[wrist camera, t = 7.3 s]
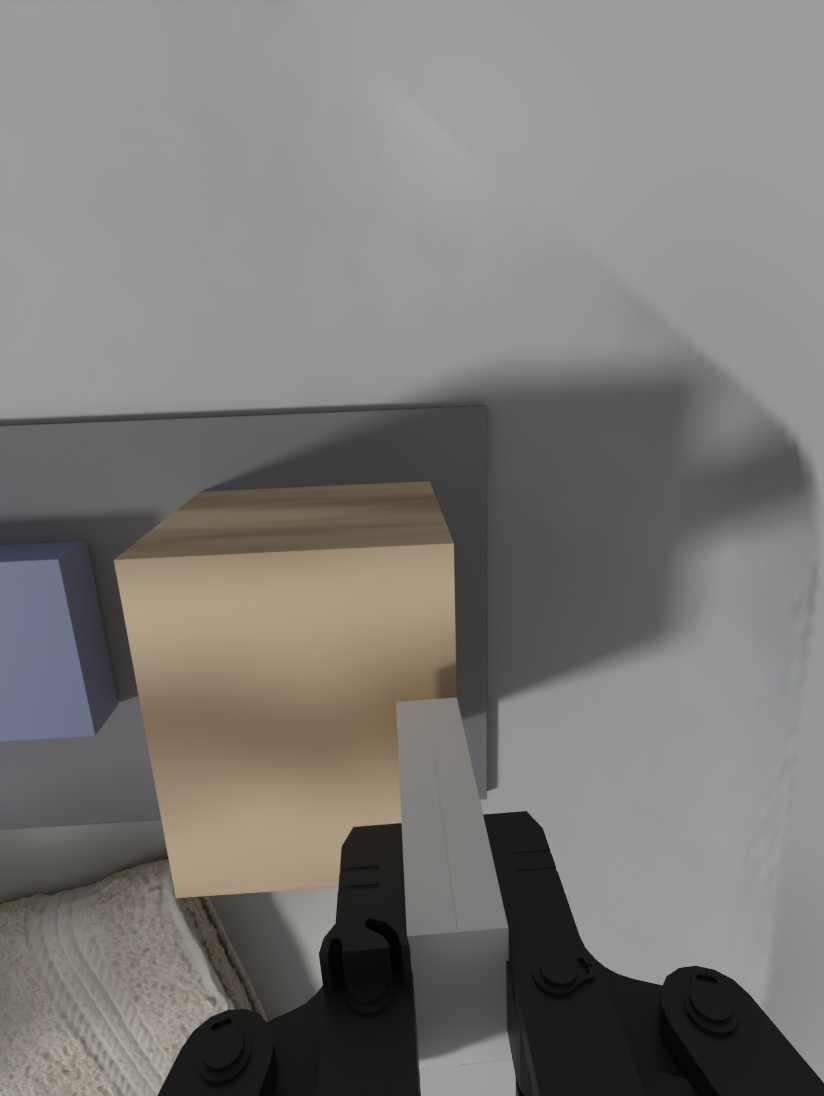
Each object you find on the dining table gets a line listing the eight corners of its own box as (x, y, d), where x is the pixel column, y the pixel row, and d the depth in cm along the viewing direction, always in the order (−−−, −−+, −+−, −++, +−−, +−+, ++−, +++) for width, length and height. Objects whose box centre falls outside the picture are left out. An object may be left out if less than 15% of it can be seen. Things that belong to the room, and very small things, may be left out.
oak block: (435, 723, 26) (459, 878, 18) (236, 734, 26) (175, 898, 18) (429, 479, 23) (453, 543, 15) (203, 489, 23) (113, 559, 15)
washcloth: (106, 1164, 33) (79, 1243, 30) (-70, 907, 28) (-122, 972, 25) (323, 1106, 33) (318, 1181, 30) (187, 834, 28) (164, 892, 25)
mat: (485, 792, 27) (486, 798, 27) (-100, 829, 26) (-107, 836, 26) (484, 405, 22) (486, 406, 22) (-230, 434, 21) (-241, 436, 21)
